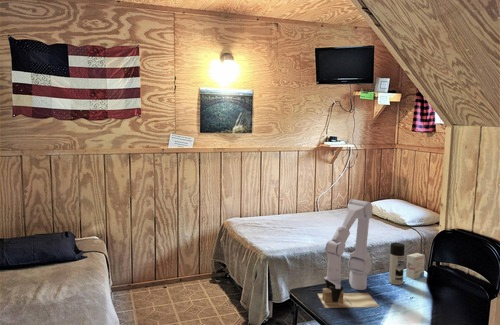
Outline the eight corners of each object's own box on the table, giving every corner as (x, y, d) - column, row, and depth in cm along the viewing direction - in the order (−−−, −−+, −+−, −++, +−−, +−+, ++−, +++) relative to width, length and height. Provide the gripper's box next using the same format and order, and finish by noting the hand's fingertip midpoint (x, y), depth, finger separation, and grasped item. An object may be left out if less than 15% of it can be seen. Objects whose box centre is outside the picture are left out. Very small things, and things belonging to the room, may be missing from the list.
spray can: (395, 286, 198) (397, 246, 196) (385, 281, 204) (387, 242, 202) (405, 284, 201) (408, 245, 199) (395, 279, 207) (397, 241, 205)
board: (316, 296, 184) (317, 293, 184) (367, 296, 186) (368, 292, 186) (324, 310, 170) (324, 307, 170) (379, 310, 172) (379, 306, 172)
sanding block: (322, 299, 178) (322, 288, 178) (340, 298, 179) (340, 287, 179) (325, 303, 174) (325, 292, 173) (343, 303, 175) (343, 292, 174)
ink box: (416, 273, 216) (417, 252, 214) (424, 276, 211) (425, 254, 210) (405, 276, 211) (406, 254, 210) (413, 279, 207) (414, 257, 206)
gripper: (320, 262, 182) (319, 291, 183) (329, 274, 168) (328, 305, 169) (336, 262, 182) (334, 290, 184) (346, 274, 168) (344, 305, 169)
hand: (332, 297), depth 176 cm, fingers open, 7 cm apart
